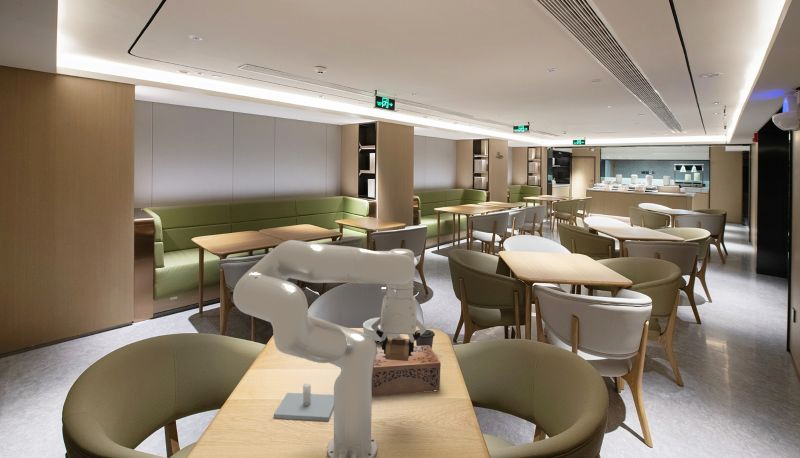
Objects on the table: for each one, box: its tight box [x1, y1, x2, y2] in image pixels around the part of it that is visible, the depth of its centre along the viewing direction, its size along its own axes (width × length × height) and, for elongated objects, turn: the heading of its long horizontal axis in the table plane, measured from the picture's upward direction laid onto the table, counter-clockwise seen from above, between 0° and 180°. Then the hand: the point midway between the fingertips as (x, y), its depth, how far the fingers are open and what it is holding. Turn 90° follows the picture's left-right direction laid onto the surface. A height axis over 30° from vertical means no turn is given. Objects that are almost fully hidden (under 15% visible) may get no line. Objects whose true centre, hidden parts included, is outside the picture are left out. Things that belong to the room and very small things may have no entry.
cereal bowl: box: [362, 317, 401, 343], centre depth 178 cm, size 17×17×7 cm
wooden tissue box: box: [385, 337, 410, 361], centre depth 119 cm, size 6×6×4 cm
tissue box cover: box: [372, 345, 441, 398], centre depth 140 cm, size 26×14×10 cm, turn 101°
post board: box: [273, 383, 334, 422], centre depth 124 cm, size 12×16×7 cm
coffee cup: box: [414, 329, 436, 350], centre depth 163 cm, size 8×8×10 cm
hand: (397, 352), depth 120 cm, fingers closed on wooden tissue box, 6 cm apart
